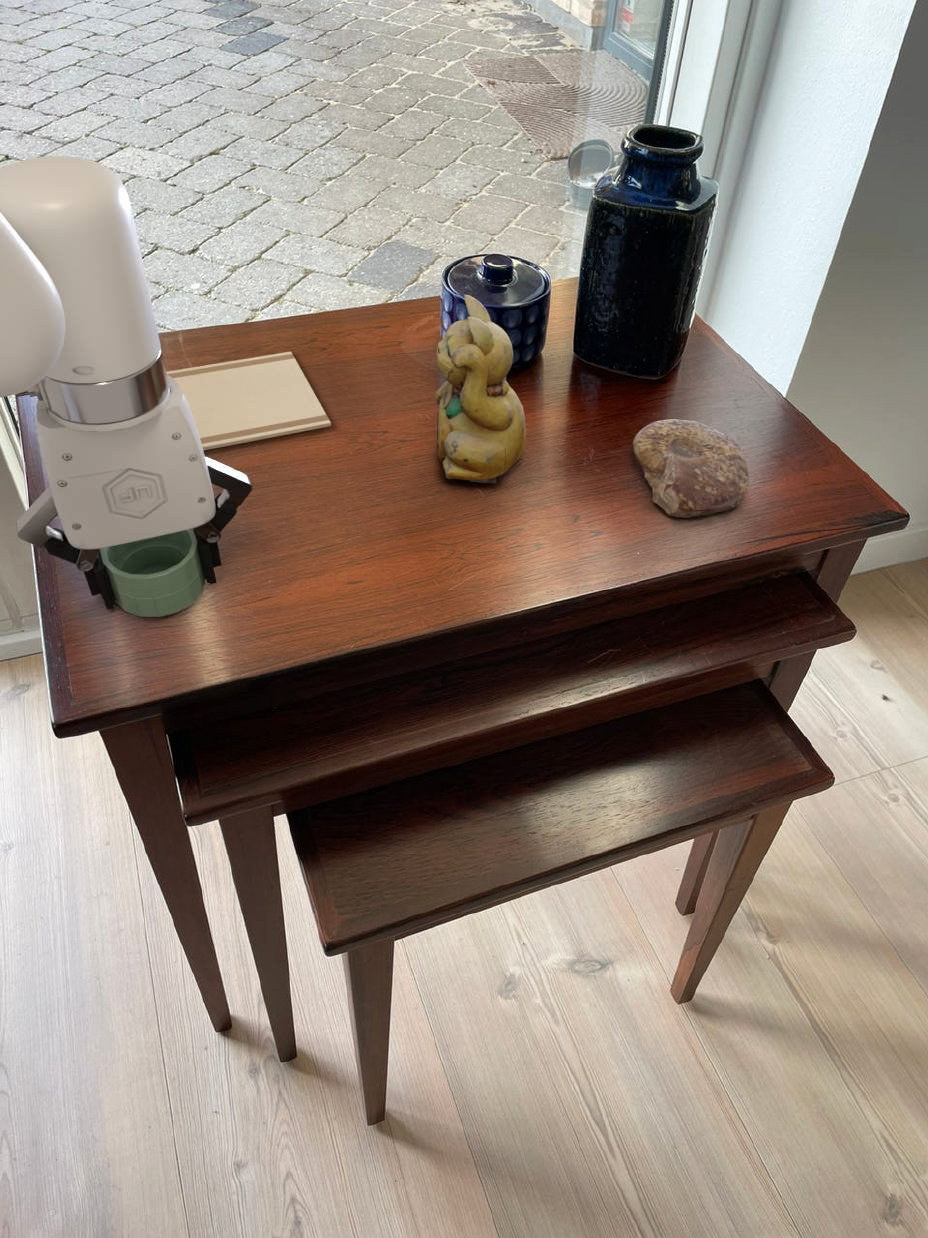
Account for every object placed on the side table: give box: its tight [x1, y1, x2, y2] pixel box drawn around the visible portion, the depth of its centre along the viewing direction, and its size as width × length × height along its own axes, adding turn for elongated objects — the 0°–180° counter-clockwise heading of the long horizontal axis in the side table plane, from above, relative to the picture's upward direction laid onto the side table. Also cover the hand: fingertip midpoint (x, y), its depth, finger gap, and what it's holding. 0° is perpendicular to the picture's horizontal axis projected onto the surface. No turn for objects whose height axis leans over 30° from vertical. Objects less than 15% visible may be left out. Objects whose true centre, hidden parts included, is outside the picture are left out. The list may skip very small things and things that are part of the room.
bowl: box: [100, 528, 206, 618], centre depth 68 cm, size 7×7×4 cm
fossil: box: [632, 418, 750, 519], centre depth 81 cm, size 13×5×10 cm
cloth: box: [166, 351, 332, 451], centre depth 88 cm, size 14×14×1 cm
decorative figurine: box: [434, 294, 527, 485], centre depth 77 cm, size 10×8×15 cm
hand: (159, 582), depth 69 cm, fingers closed on bowl, 6 cm apart
